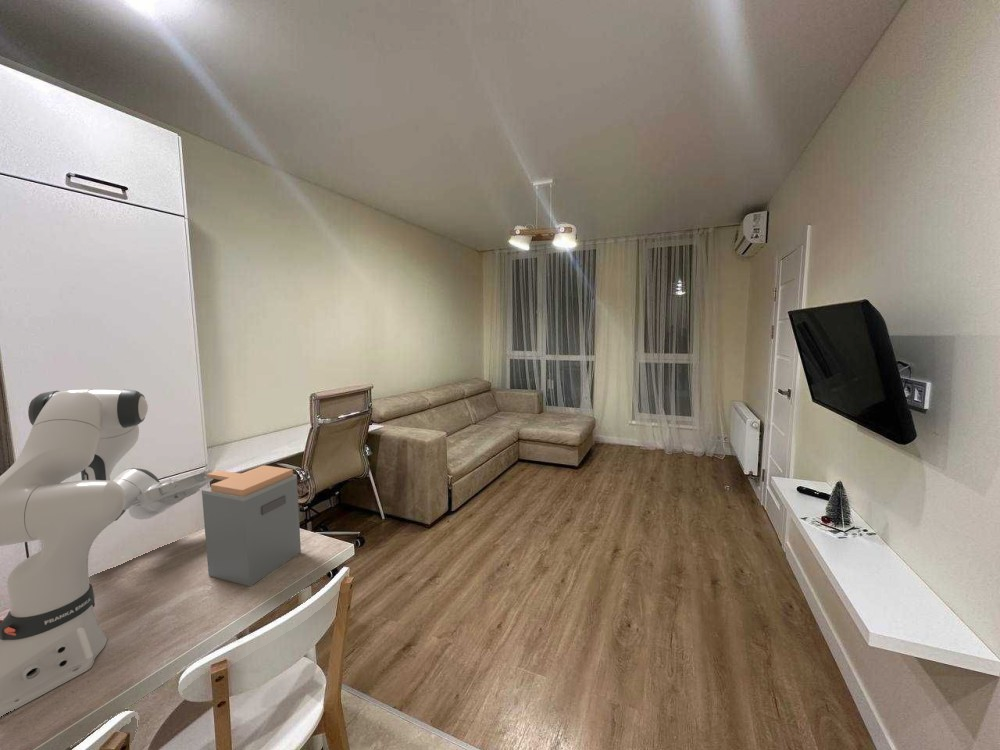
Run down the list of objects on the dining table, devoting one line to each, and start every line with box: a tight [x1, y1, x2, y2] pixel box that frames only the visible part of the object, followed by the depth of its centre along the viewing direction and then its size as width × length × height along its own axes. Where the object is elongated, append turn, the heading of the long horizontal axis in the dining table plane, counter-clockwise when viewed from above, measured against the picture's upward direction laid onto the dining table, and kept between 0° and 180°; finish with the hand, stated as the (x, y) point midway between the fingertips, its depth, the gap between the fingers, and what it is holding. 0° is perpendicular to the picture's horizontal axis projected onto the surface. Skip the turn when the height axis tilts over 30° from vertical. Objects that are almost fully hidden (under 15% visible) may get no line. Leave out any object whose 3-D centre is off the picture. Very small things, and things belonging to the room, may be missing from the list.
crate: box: [201, 473, 302, 587], centre depth 117 cm, size 18×16×26 cm
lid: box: [207, 464, 294, 496], centre depth 117 cm, size 17×23×2 cm
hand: (191, 478), depth 124 cm, fingers open, 8 cm apart
